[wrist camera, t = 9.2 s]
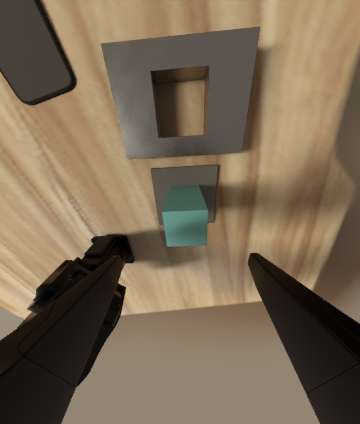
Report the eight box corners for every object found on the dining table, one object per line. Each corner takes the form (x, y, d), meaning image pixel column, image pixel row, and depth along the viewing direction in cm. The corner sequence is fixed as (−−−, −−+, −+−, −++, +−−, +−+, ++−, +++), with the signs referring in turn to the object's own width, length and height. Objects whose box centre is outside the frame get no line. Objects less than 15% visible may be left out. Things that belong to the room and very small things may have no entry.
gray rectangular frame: (233, 151, 16) (241, 152, 14) (134, 157, 17) (127, 159, 15) (246, 48, 12) (260, 26, 10) (115, 61, 13) (100, 43, 11)
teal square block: (198, 210, 20) (206, 245, 13) (172, 211, 20) (166, 246, 13) (198, 184, 18) (207, 209, 11) (170, 186, 18) (162, 211, 11)
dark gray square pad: (213, 221, 21) (213, 222, 21) (159, 223, 22) (159, 224, 21) (217, 164, 17) (217, 165, 17) (151, 168, 18) (150, 168, 17)
